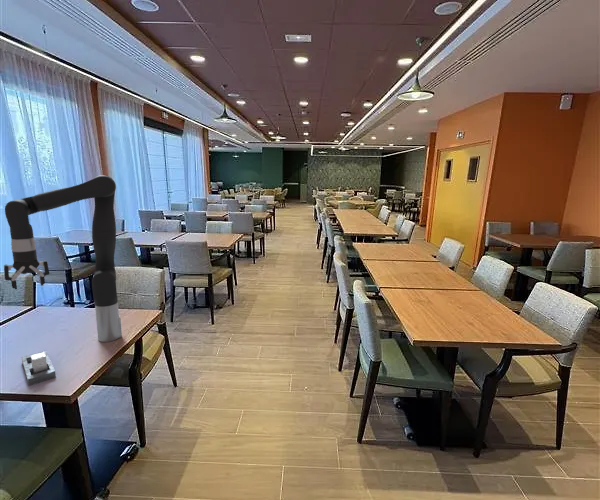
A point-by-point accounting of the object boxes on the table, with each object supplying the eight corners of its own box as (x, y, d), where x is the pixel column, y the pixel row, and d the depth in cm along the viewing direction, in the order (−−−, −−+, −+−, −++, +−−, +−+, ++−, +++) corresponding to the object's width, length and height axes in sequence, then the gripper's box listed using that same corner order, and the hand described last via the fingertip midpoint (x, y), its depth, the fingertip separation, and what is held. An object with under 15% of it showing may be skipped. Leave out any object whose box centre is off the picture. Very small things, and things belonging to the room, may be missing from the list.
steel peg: (46, 371, 128) (44, 352, 126) (48, 375, 125) (45, 356, 123) (33, 374, 125) (30, 355, 123) (35, 379, 122) (32, 360, 121)
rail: (47, 356, 138) (46, 350, 137) (55, 377, 124) (55, 371, 124) (22, 362, 132) (21, 357, 132) (28, 385, 119) (27, 379, 118)
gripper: (1, 252, 127) (7, 292, 130) (47, 248, 137) (51, 286, 140) (0, 249, 132) (5, 288, 135) (44, 245, 142) (48, 281, 145)
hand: (29, 287), depth 138 cm, fingers open, 8 cm apart
